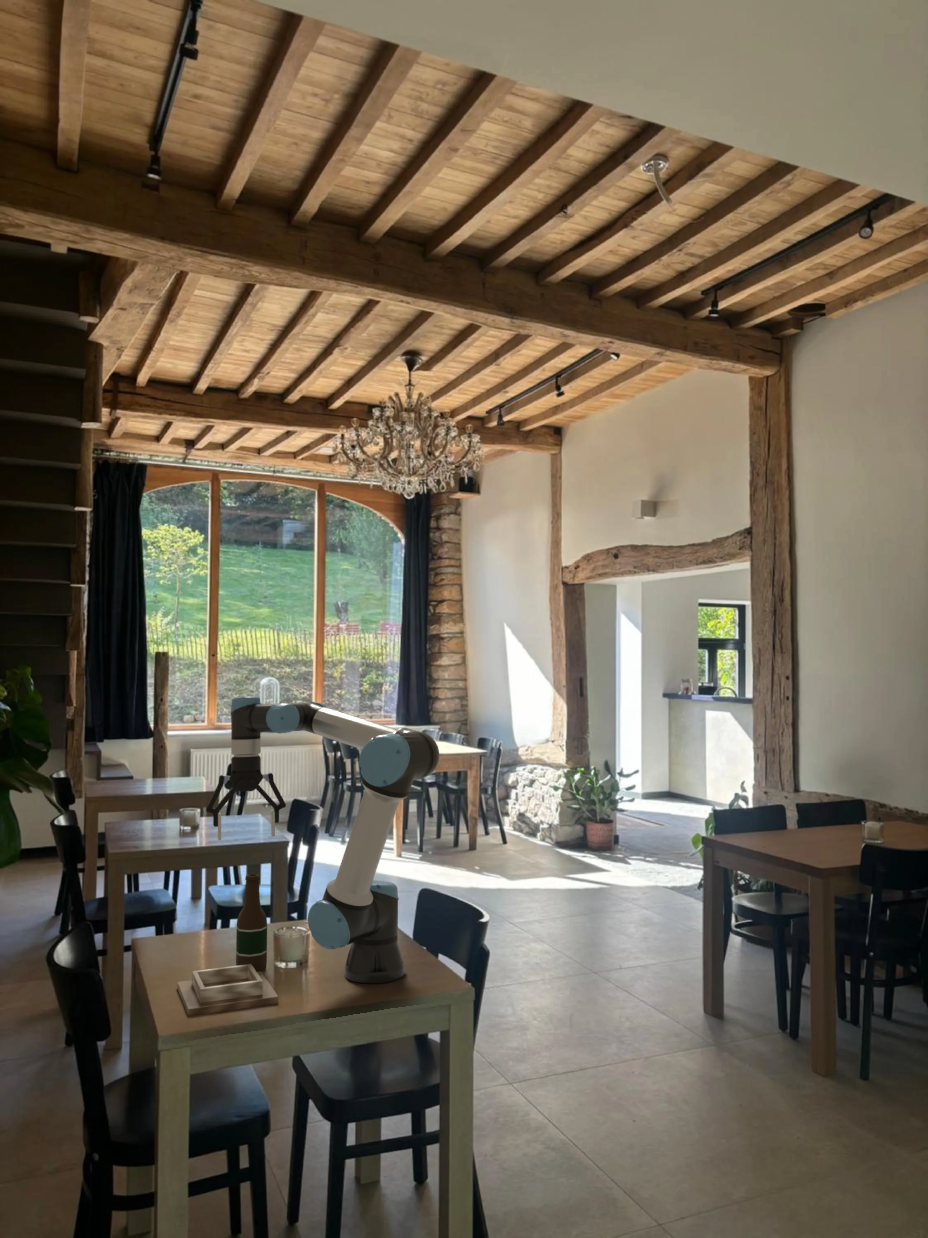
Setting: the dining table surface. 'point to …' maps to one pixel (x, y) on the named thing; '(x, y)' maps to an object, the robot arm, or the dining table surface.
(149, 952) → the dining table surface
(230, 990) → the rim board
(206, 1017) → the dining table surface
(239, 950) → the beer bottle
